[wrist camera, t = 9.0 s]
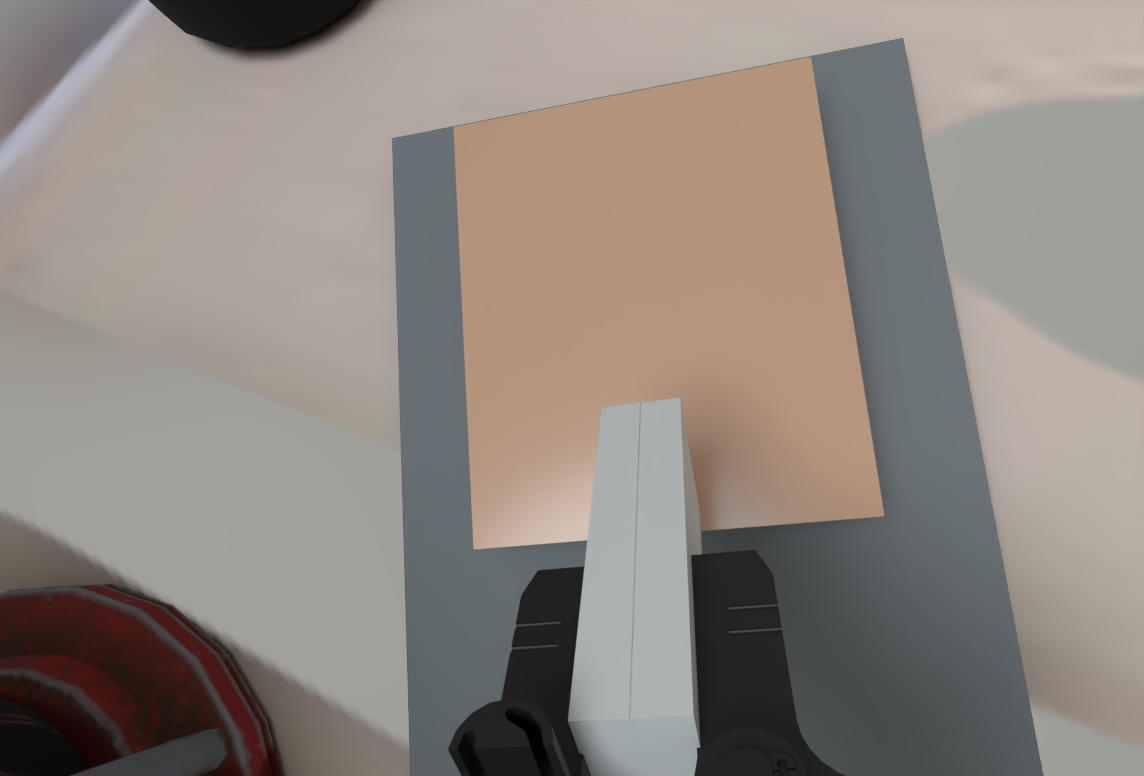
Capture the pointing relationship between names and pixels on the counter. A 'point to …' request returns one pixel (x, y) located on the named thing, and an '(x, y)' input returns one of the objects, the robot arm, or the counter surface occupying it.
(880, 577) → the mat
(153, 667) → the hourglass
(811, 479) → the tile
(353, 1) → the coffee jar
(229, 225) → the counter surface
